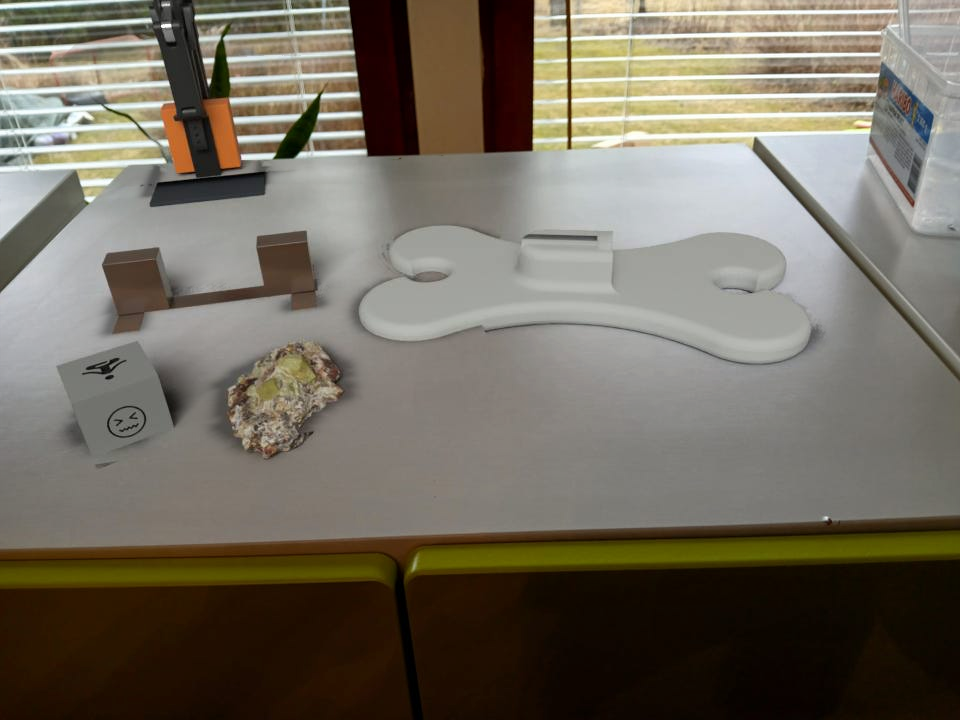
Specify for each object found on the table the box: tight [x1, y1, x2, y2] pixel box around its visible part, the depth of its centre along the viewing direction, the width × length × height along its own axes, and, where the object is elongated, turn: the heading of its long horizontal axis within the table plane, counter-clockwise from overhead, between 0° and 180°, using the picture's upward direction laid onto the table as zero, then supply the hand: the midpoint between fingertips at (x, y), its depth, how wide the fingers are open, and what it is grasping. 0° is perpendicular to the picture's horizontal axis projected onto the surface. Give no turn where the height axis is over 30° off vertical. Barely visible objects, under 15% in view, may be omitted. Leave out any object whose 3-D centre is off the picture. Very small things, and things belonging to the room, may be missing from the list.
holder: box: [358, 224, 813, 365], centre depth 64 cm, size 19×34×5 cm, turn 82°
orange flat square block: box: [159, 97, 242, 174], centre depth 88 cm, size 3×7×7 cm, turn 102°
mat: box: [149, 170, 266, 207], centre depth 91 cm, size 12×12×1 cm
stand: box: [101, 230, 319, 335], centre depth 64 cm, size 8×16×6 cm, turn 102°
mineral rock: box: [226, 339, 344, 460], centre depth 53 cm, size 11×4×8 cm
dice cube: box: [55, 340, 175, 470], centre depth 51 cm, size 5×5×5 cm
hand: (210, 170), depth 90 cm, fingers closed on orange flat square block, 3 cm apart
